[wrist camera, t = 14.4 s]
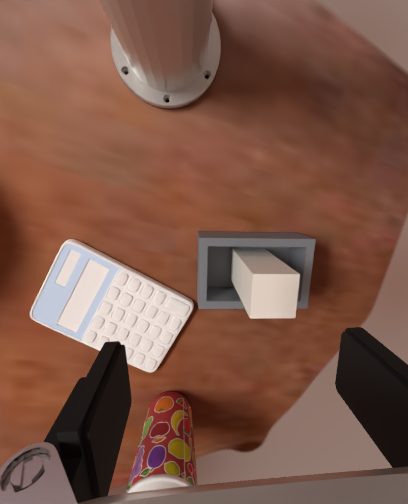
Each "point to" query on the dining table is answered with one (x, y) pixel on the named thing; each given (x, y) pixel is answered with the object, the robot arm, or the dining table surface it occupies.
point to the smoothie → (165, 446)
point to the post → (264, 283)
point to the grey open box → (221, 243)
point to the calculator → (110, 305)
